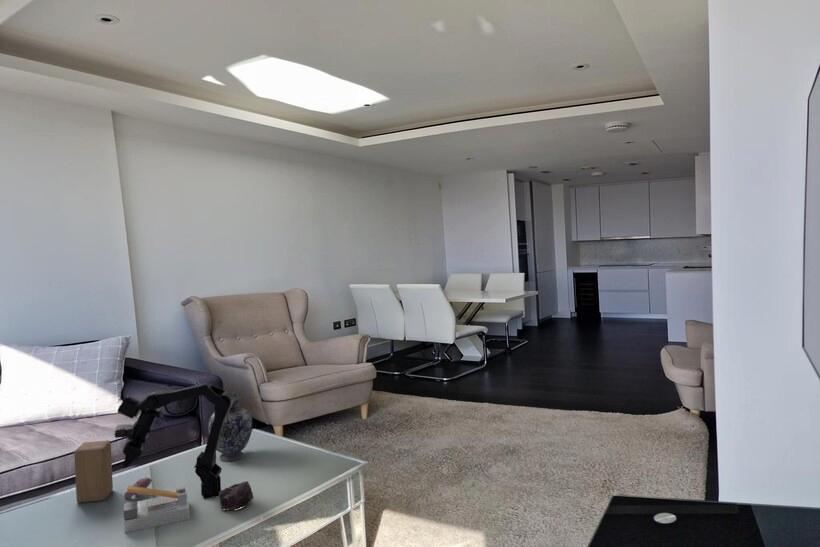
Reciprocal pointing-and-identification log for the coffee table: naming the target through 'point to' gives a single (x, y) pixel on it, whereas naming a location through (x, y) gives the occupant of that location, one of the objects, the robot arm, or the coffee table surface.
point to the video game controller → (140, 483)
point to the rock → (236, 496)
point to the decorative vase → (234, 432)
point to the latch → (130, 510)
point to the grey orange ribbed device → (159, 512)
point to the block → (93, 471)
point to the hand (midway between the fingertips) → (126, 461)
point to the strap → (152, 492)
